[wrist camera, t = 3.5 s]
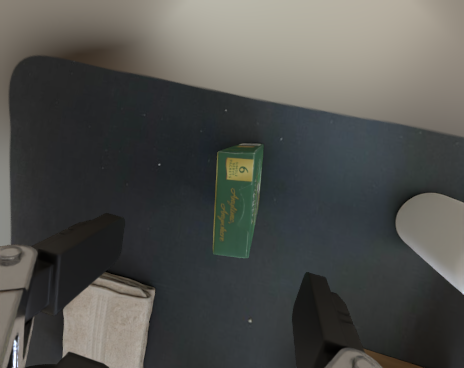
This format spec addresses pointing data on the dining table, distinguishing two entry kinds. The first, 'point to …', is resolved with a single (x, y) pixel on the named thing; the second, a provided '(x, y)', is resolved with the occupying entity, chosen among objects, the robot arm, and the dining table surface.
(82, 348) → the washcloth
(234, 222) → the coffee box
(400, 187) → the dining table surface
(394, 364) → the shelf
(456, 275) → the can
